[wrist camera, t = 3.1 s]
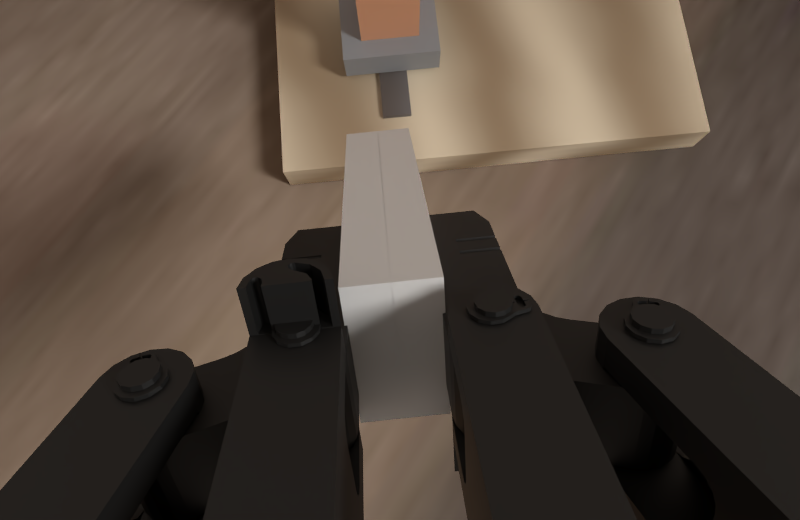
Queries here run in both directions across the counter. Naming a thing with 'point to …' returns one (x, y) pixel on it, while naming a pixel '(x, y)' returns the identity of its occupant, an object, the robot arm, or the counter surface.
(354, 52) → the orange lever on base
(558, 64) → the trammel board
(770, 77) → the counter surface
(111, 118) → the counter surface
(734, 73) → the counter surface
